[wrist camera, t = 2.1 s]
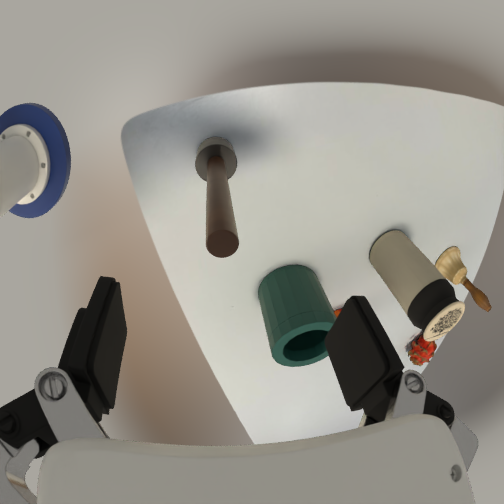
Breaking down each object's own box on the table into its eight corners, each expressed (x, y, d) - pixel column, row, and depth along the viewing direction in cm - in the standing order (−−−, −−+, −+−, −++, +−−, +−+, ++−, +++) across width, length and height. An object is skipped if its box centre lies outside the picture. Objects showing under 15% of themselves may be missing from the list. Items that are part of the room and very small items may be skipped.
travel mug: (378, 227, 41) (444, 303, 26) (411, 231, 42) (474, 299, 28) (362, 266, 45) (413, 347, 30) (395, 267, 47) (446, 338, 32)
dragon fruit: (403, 350, 71) (418, 320, 65) (426, 356, 67) (442, 327, 62) (401, 369, 64) (419, 338, 58) (426, 375, 60) (445, 345, 55)
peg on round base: (194, 169, 32) (179, 272, 16) (200, 134, 29) (185, 203, 13) (230, 173, 33) (253, 278, 17) (237, 139, 30) (271, 213, 14)
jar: (252, 309, 47) (264, 367, 37) (266, 262, 41) (284, 322, 32) (306, 311, 49) (326, 364, 39) (326, 267, 44) (355, 321, 34)
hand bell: (436, 253, 46) (482, 305, 33) (461, 241, 46) (507, 287, 33) (431, 281, 51) (469, 332, 38) (455, 269, 51) (494, 315, 38)
